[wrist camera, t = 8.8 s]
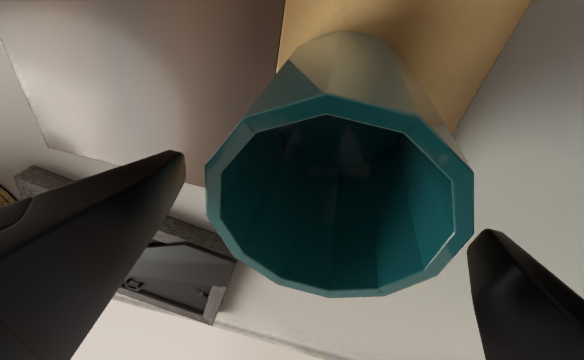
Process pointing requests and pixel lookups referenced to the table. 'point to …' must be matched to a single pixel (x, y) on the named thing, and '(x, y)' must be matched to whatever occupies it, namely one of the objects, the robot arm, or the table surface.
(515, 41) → the table surface
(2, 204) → the wooden mug
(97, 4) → the serving board
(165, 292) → the picture frame
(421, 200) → the teal cup
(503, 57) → the table surface
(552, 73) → the table surface
